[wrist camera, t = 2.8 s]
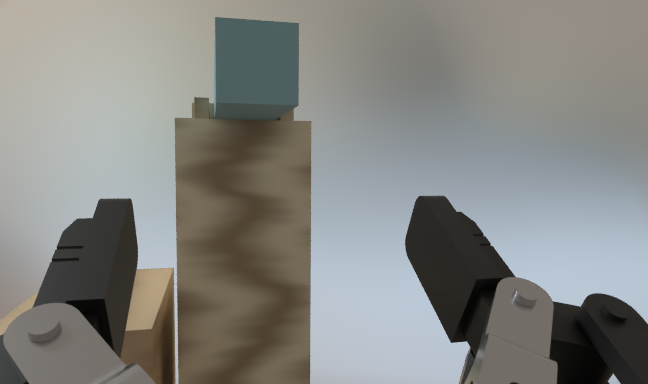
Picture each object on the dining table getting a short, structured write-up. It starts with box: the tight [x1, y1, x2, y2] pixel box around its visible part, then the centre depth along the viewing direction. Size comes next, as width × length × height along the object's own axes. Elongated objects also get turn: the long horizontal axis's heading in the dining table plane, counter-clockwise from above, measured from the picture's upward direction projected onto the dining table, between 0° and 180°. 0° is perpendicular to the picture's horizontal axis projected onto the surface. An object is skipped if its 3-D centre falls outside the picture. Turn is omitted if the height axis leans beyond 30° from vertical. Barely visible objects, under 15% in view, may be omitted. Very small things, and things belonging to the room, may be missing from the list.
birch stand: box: [175, 97, 311, 384], centre depth 36 cm, size 8×15×34 cm, turn 13°
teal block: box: [214, 17, 299, 120], centre depth 31 cm, size 4×22×4 cm, turn 13°
